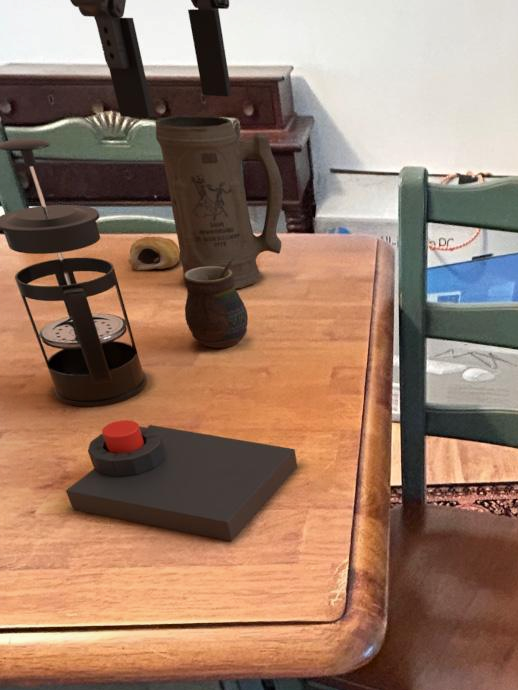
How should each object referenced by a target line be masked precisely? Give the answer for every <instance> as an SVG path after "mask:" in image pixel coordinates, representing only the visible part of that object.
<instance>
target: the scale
mask: <svg viewBox="0 0 518 690" xmlns="http://www.w3.org/2000/svg"><path fill="white" fill-rule="evenodd" d="M139 428H140V431H141V434H142V438H143V441H144V445H143V446H142V447H141V448H139V449H137V450H134V451H132V452H129V453H119V454H116V453H110V452H109V451H108V449H107V446H106V443H105V440H104V437H103V434H102V433H101V434H99V435H97V436H96V437H95V438H94V439H92V440H90V443H89V445H88V450H87V453H88V455H89V458H90V461H91V464H92V466H93V469H92V470H91V471H89V472H88V473H86V474H85V475H84V476H82V477H81V478H80V479H79V480H77V481H76V482H75V483H73V484H72V485H71V486H69V487H68V488H67V489H66V490H65V493H66V495H67V498H68V500H69V503H70V506H71V508H72V510H73V511H79V512H84V513H88V514H94V515H97V516H98V515H99V516H104V517H109V518H113V519H119V520H123V521H128V522H134V523H139V524H143V525H148V526H154V527H158V528H163V529H169V530H174V531H179V532H183V533H188V534H193V535H199V536H202V537H209V538H213V539H218V540H224V541H228V542H232V541H234V539H236V537H237V536H238V535H239V534H240V533H241V532H242V530H243V529H244V528H245V527H246V526H247V525H248V523H249V522H250V521H251V520H252V519H253V518H254V516H256V515H257V513H258V512H259V511H260V510H261V509H262V508H263V507H264V506H265V505H266V503H267V502H268V501H269V500H270V499H271V498H272V497H273V495H274V494H275V493H276V492H277V491H278V490H279V488H280V487H281V486H283V484H284V483H285V482H286V481H287V480H288V478H289V477H290V476H291V475H292V474H293V473H294V471H296V469H297V468H298V464H297V463H298V462H297V455H296V450H295V448H290V447H284V446H278V445H274V444H273V445H272V444H268V443H267V444H266V443H261V442H254V441H248V440H243V439H236V438H231V437H224V436H219V435H213V434H207V433H200V432H195V431H189V430H182V429H176V428H171V427H166V426H158V425H154V424H150V425H148V426H147V427H145V426H140V425H139Z"/></svg>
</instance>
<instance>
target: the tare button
mask: <svg viewBox="0 0 518 690" xmlns="http://www.w3.org/2000/svg"><path fill="white" fill-rule="evenodd" d="M139 426H140V425H139V423H138V422H136V421H134V420H130V419H129V420H128V419H127V420H126V419H125V420H122V419H121V420H117V421H113V422H110V423H108V424H106V425H105V426H103V428H102V429H101V434H103V437H104V440H105V443H106V446H107V449H108V451H109V452H110V453H116V454H119V453H129V452H132V451H134V450H137V449H139V448H141V447H142V446H143V445H144V441H143V438H142V434H141V431H140V428H139Z"/></svg>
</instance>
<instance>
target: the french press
mask: <svg viewBox="0 0 518 690" xmlns="http://www.w3.org/2000/svg"><path fill="white" fill-rule="evenodd" d="M49 147H51V142H50V141H47V140H45V139H42V138H33V137H31V138H30V137H24V138H23V137H22V138H14V139H9V140H6V141H4V142H1V143H0V151H1V150H2V151H9V152H20V154H21V157H22V160H23V163H24V166H25V167H29V171H30V174H31V176H32V180H33V183H34V186H35V189H36V192H37V196H38V198H39V201H40V202H39V203H40V204H41V205H39V206H32V207H27V208H21V209H17V210H13V211H9V212H7V213H4V214H2V215H0V231H2V232H3V234H4V237H5V240H6V243H7V245H8V247H9V249H10V250H12V251H14V252H17V253H20V254H21V253H23V254H31V255H46V254H47V255H48V254H57V257H58V258H56V259H49V260H45V261H41V262H37V263H34V264H33V263H32V264H31V265H28V266H25V267H24V268H21V269H20V270H19V271H17V272H16V274H15V275H14V280H15V283H16V285H17V287H18V290H19V293H20V296H21V299H22V301H23V304H24V307H25V309H26V312H27V315H28V318H29V321H30V323H31V325H32V329H33V331H34V334H35V337H36V339H37V340H36V341H37V342H38V345H39V348H40V351H41V353H42V356H43V358H44V362H45V364H46V367H47V370H48V373H49V375H50V378H51V381H52V383H53V391H54V392H53V393H54V395H55V397H56V399H57V400H59V402H61V403H64V404H66V405H70V406H74V407H101V406H105V405H106V406H107V405H112V404H117V403H120V402H123V401H126V400H128V399H130V398H133V397H135V396H136V395H138V394H140V393H141V392H142V391H143V390H145V388H146V387H147V384H148V378H147V374H146V373H145V372H144V371H143V367H142V365H141V361H140V357H139V353H138V350H137V346H136V343H135V338H134V335H133V331H132V328H131V325H130V321H129V317H128V314H127V310H126V306H125V303H124V299H123V296H122V293H121V289H120V285H119V282H118V277H117V275H116V271H115V270H116V269H115V267H114V264H113V263H112V262H110V261H108V260H106V259H102V258H95V257H80V256H79V257H63V254H62V253H66V252H73V251H77V250H81V249H84V248H85V249H86V248H88V247H90V246H93V245H95V244H97V243H98V242H99V241H100V239H101V235H100V232H99V227H98V224H97V221H98V220H99V219H100V214H99V211H98V210H97V209H96V208H93V207H90V206H86V205H77V204H51V205H50V204H49V205H47V203H46V201H45V197H44V195H43V191H42V189H41V186H40V185H41V184H40V182H39V179H38V175H37V173H36V169H35V167H37V161H36V158H35V155H34V150H41V149H45V148H49ZM76 272H92V273H93V272H94V273H101V274H104V275H102V276H99V277H97V278H93V279H91V280H90V279H89V280H87V281H83V282H77V279H76V276H75V273H76ZM54 275H55V278H56V281H57V285H35V284H30V283H32V282H33V281H36V280H38V279H39V280H40V279H42V278H45V277H48V276H49V277H50V276H54ZM112 288H115V290H116V293H117V297H118V301H119V304H120V309H121V311H122V314H123V317H121V316H119V315H115V314H111V313H92V310H91V307H90V304H89V300H88V298H89V297H93V296H97V295H99V294H103V293H105V292H107V291H109V290H111V289H112ZM27 299H30V300H34V301H35V300H36V301H43V302H61V301H62V302H63V303H64V306H65V309H66V312H67V315H68V316H66V317H62V318H59V319H57V320H54V321H52V322H49V323H48V324H45V325H44V326H43V327H42V328H40V330H39V332H38V328H37V326H36V323H35V320H34V317H33V315H32V312H31V309H30V306H29V303H28V301H27ZM127 332H128V336H129V340H130V343H131V344H130V343H127V342H122V341H117V340H119V339H120V338H122V337H123V336H124V335H125V334H126V333H127ZM43 344H44V345H46V346H48V347H51V348H53V349H60V350H58V351H56V352H55V353H53V354H52V355H50V357H49V358H48V355H47V353H46V350H45V347H44V345H43Z"/></svg>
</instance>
